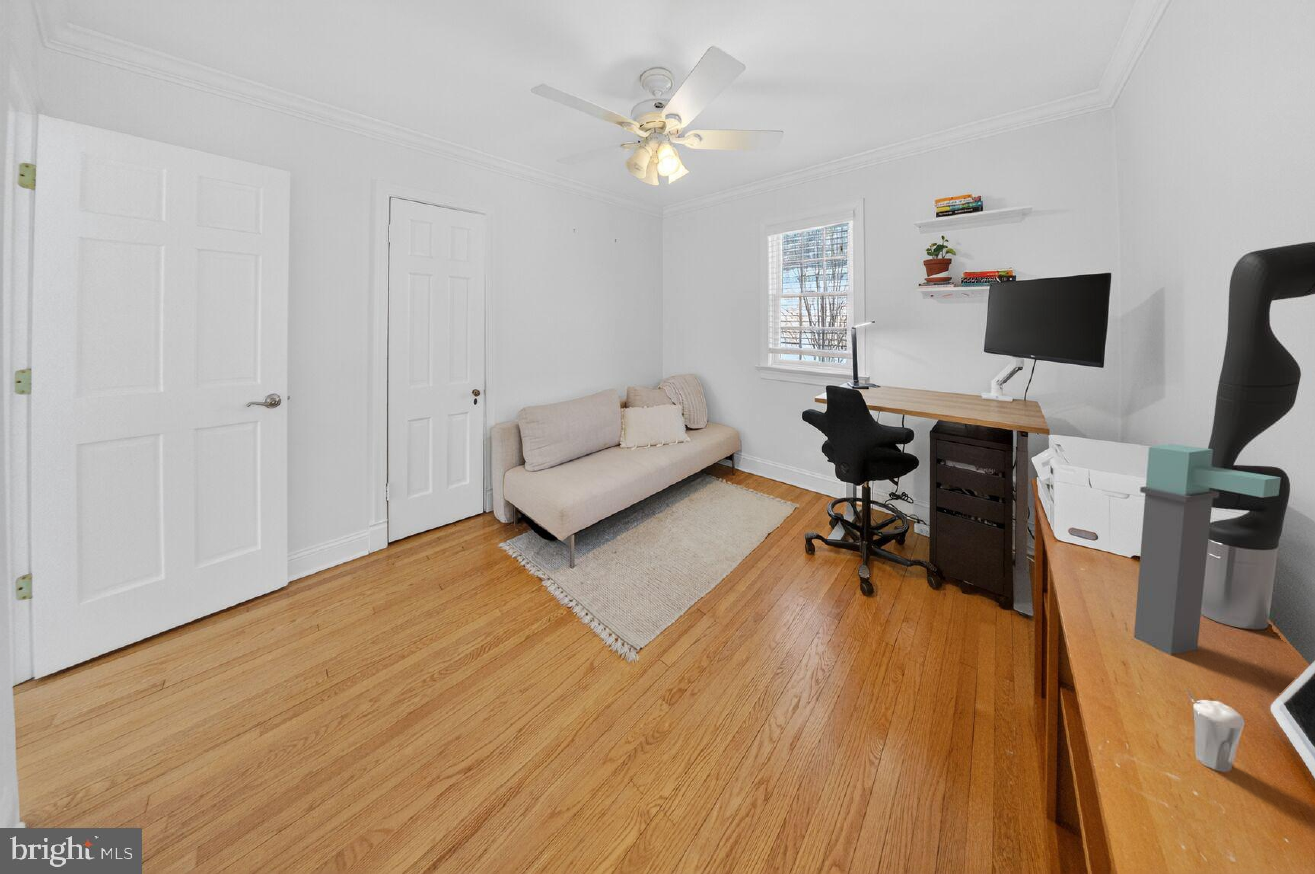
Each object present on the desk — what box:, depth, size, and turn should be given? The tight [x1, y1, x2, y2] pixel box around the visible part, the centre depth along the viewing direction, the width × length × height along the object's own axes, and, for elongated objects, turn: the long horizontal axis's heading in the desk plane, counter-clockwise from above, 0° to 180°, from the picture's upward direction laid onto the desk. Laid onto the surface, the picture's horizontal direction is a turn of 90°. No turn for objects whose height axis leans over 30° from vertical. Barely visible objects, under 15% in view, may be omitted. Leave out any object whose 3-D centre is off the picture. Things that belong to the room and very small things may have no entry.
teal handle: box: [1145, 443, 1281, 497], centre depth 80 cm, size 15×5×8 cm, turn 7°
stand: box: [1133, 486, 1219, 656], centre depth 87 cm, size 7×7×32 cm
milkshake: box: [1185, 687, 1245, 773], centre depth 64 cm, size 5×5×10 cm
